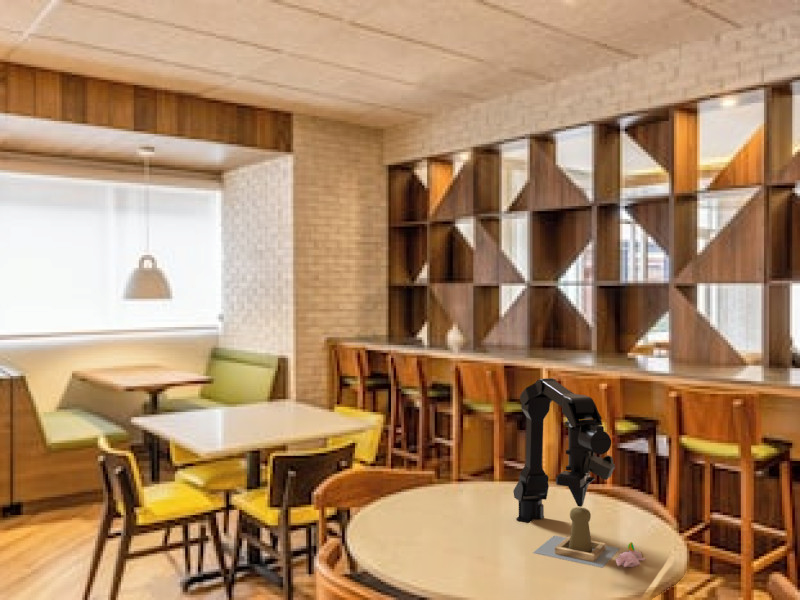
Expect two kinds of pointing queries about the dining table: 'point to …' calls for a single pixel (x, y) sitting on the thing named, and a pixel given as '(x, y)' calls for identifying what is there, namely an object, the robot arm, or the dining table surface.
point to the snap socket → (592, 556)
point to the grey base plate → (549, 550)
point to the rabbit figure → (629, 557)
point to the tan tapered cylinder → (580, 530)
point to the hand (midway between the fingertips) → (580, 506)
